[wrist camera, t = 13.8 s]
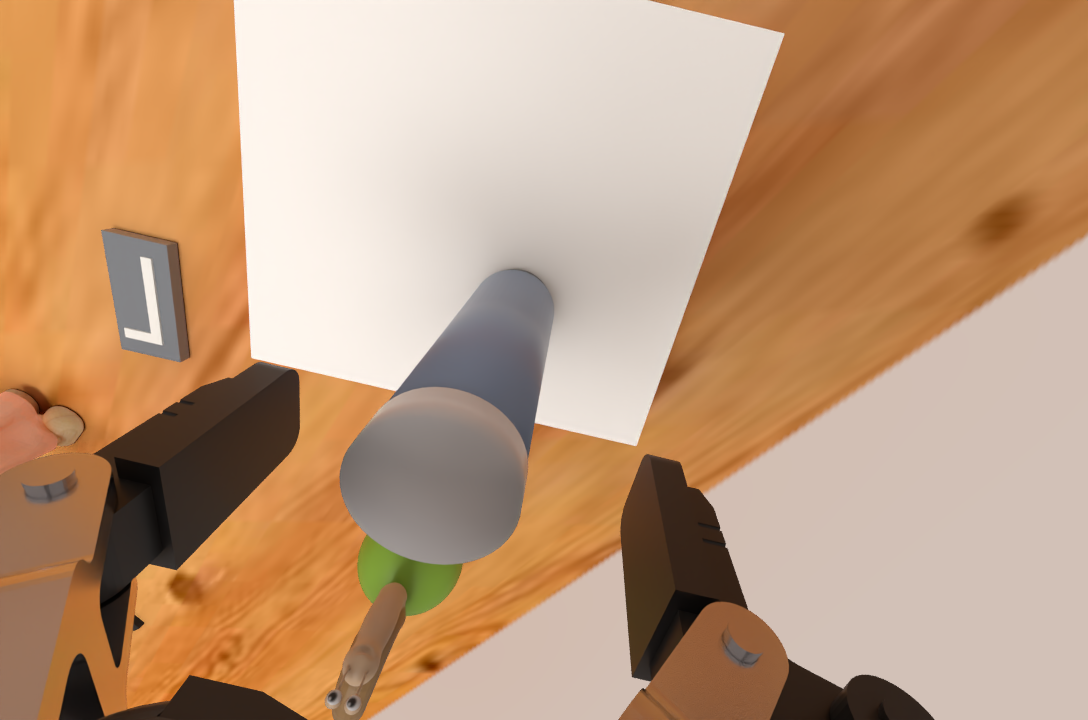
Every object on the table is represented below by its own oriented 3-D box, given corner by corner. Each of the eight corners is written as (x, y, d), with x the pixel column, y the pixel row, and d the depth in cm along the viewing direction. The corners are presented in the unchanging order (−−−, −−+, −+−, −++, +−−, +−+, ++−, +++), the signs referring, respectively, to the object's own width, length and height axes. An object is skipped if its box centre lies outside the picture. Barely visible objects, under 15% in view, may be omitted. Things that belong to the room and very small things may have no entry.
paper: (234, -99, 17) (229, -103, 16) (781, 35, 17) (784, 33, 17) (255, 355, 24) (251, 358, 24) (635, 442, 24) (636, 446, 24)
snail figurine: (489, 490, 26) (421, 729, 15) (459, 567, 29) (383, 819, 18) (395, 458, 26) (258, 681, 15) (374, 539, 29) (243, 780, 18)
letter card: (113, 228, 22) (99, 230, 21) (177, 243, 22) (164, 245, 21) (132, 344, 24) (120, 349, 24) (189, 357, 24) (178, 362, 24)
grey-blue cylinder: (482, 255, 21) (342, 396, 9) (564, 273, 21) (538, 440, 9) (470, 331, 22) (337, 543, 10) (547, 349, 22) (504, 580, 10)
